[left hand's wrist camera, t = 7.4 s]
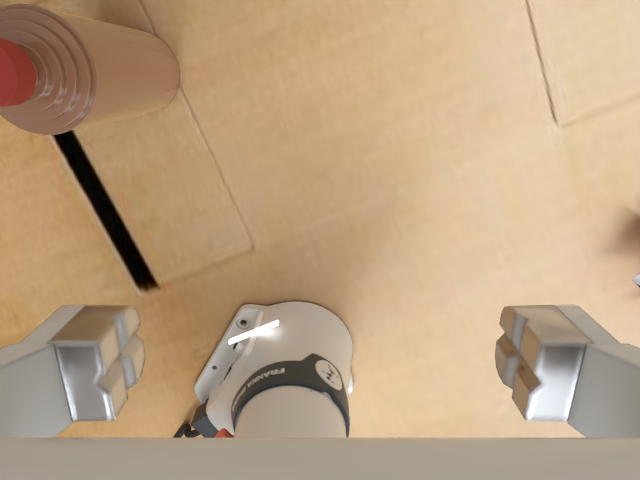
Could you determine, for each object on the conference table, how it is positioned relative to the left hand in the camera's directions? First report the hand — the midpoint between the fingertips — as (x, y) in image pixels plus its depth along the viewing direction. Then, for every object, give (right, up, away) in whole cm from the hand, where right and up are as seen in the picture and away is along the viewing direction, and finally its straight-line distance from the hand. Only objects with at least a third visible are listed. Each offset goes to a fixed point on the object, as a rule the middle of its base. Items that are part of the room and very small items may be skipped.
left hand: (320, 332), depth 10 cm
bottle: (-19, +20, +37) cm, 46 cm away
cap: (-19, +11, +15) cm, 27 cm away
